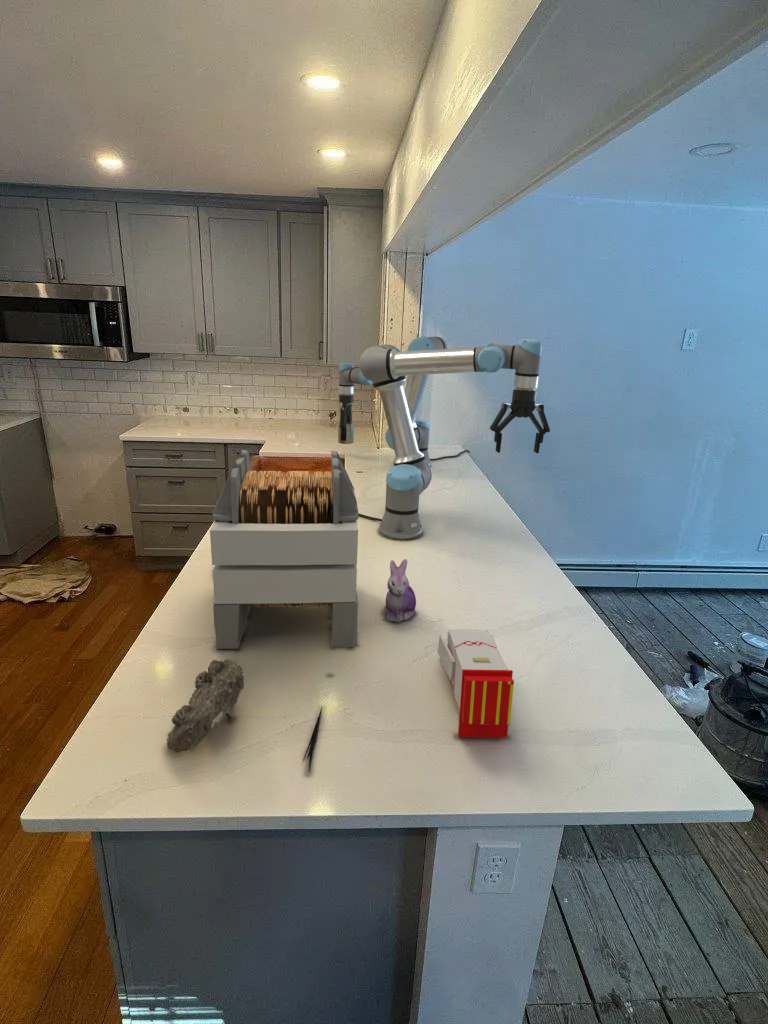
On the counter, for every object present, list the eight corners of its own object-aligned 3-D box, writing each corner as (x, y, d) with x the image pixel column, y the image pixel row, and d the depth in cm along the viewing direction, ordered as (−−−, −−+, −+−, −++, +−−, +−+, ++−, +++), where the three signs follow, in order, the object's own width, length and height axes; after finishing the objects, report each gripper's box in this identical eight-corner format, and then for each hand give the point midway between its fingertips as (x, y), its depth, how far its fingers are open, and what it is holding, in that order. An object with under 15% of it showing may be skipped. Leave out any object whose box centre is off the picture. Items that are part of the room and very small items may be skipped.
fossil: (192, 660, 117) (244, 628, 112) (224, 691, 120) (276, 661, 115) (142, 746, 98) (202, 712, 93) (182, 779, 101) (242, 748, 96)
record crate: (234, 582, 160) (226, 440, 146) (350, 581, 163) (353, 443, 150) (213, 651, 128) (201, 478, 114) (357, 647, 132) (363, 480, 118)
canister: (356, 443, 294) (356, 423, 291) (342, 444, 290) (342, 424, 287) (349, 440, 301) (349, 420, 297) (335, 441, 297) (335, 421, 293)
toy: (488, 613, 130) (523, 677, 101) (484, 667, 133) (517, 744, 104) (435, 612, 130) (455, 676, 101) (432, 666, 133) (451, 743, 103)
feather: (331, 679, 122) (336, 673, 122) (307, 777, 96) (313, 769, 95) (324, 675, 122) (329, 669, 121) (298, 772, 95) (304, 764, 95)
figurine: (392, 627, 141) (395, 572, 136) (374, 608, 149) (376, 556, 144) (425, 619, 145) (429, 566, 140) (405, 601, 154) (408, 550, 149)
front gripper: (556, 388, 191) (547, 449, 198) (484, 386, 188) (478, 448, 195) (565, 391, 184) (556, 455, 191) (491, 389, 181) (484, 454, 188)
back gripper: (344, 391, 298) (344, 434, 305) (333, 396, 278) (333, 442, 286) (358, 392, 296) (357, 435, 304) (348, 397, 277) (347, 443, 284)
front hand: (517, 452), depth 193 cm, fingers open, 13 cm apart
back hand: (345, 438), depth 295 cm, fingers closed on canister, 8 cm apart
